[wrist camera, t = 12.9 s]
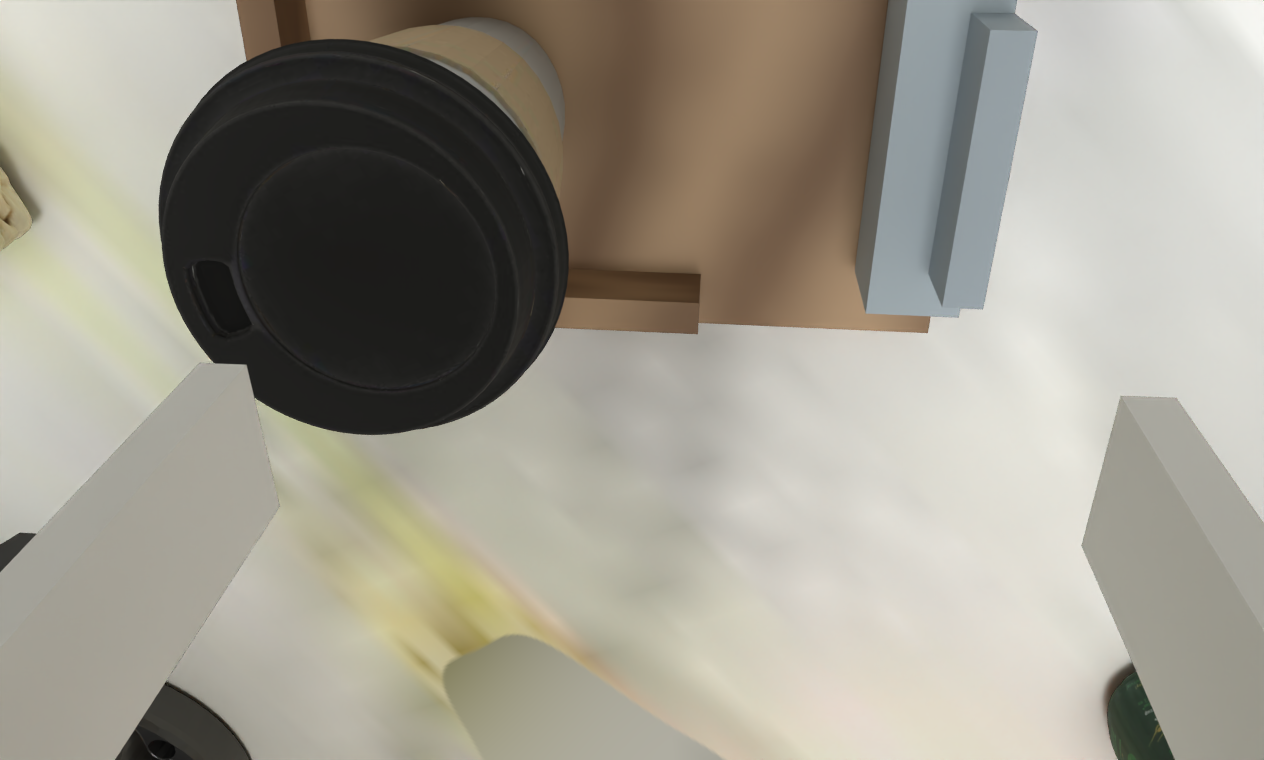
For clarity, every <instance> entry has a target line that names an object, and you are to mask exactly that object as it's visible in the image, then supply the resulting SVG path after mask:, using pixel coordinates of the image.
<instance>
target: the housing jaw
mask: <svg viewBox="0 0 1264 760" xmlns="http://www.w3.org/2000/svg"><path fill="white" fill-rule="evenodd" d="M1016 4H1017V0H888V8H887V16H886V24H885V32H884V40H883V48H882V56H881V64H880V72H879V80H878V88H877V96H876V104H875V112H874V120H873V128H872V136H871V144H870V152H869V160H868V168H867V176H866V184H865V192H864V200H863V208H862V216H861V224H860V232H859V240H858V248H857V256H856V264H855V274H856V278H857V282H858V286H859V290H860V293H861V297H862V301H863V305H864V309H865V313H866V314H888V315H911V316H935V317H958V318H959V313H960V308H965V309H983V307H984V302H985V297H986V292H987V287H988V282H989V277H990V271H991V266H992V261H993V256H994V251H995V246H996V241H997V236H998V231H999V226H1000V221H1001V216H1002V210H1003V205H1004V200H1005V195H1006V190H1007V185H1008V180H1009V175H1010V170H1011V165H1012V160H1013V155H1014V149H1015V144H1016V139H1017V134H1018V129H1019V124H1020V119H1021V114H1022V109H1023V104H1024V99H1025V94H1026V89H1027V83H1028V78H1029V73H1030V68H1031V63H1032V58H1033V53H1034V48H1035V43H1036V38H1037V33H1038V31H1037V30H1036V29H1034V28H1033V27H1032V26H1030V25H1029V24H1028V23H1026V22H1025V21H1024V20H1023V19H1021V18H1020V17H1019V16H1017V15H1016V14H1015V9H1016Z"/></svg>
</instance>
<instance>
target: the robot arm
mask: <svg viewBox="0 0 1264 760" xmlns="http://www.w3.org/2000/svg"><path fill="white" fill-rule="evenodd" d="M279 507H280V504H279V500H278V496H277V492H276V487H275V483H274V479H273V475H272V471H271V466H270V462H269V458H268V454H267V449H266V445H265V441H264V437H263V433H262V428H261V424H260V420H259V416H258V411H257V407H256V403H255V399H254V395H253V390H252V386H251V382H250V378H249V373H248V369H247V365H242V364H214V363H199V364H198V365H197V366H196V367H195V368H194V369H193V370H192V371H191V373H190V374H189V375H188V376H187V377H186V378H185V379H184V380H183V381H182V382H181V383H180V384H179V385H178V386H177V387H176V388H175V389H174V390H173V391H172V392H171V394H170V395H169V396H168V397H167V398H166V399H165V400H164V401H163V402H162V403H161V404H160V405H159V406H158V407H157V408H156V409H155V410H154V411H153V412H152V413H151V415H150V416H149V417H148V418H147V419H146V420H145V421H144V422H143V423H142V424H141V425H140V426H139V427H138V428H137V429H136V430H135V431H134V432H133V433H132V434H131V436H130V437H129V438H128V439H127V440H126V441H125V442H124V443H123V444H122V445H121V446H120V447H119V448H118V449H117V450H116V451H115V452H114V453H113V454H112V455H111V457H110V458H109V459H108V460H107V461H106V462H105V463H104V464H103V465H102V466H101V467H100V468H99V469H98V470H97V471H96V472H95V473H94V474H93V475H92V477H91V478H90V479H89V480H88V481H87V482H86V483H85V484H84V485H83V486H82V487H81V488H80V489H79V490H78V491H77V492H76V493H75V494H74V495H73V496H72V498H71V499H70V500H69V501H68V502H67V503H66V504H65V505H64V506H63V507H62V508H61V509H60V510H59V511H58V512H57V513H56V514H55V515H54V516H53V517H52V519H51V520H50V521H49V522H48V523H47V524H46V525H45V526H44V527H43V528H42V529H41V530H40V531H39V532H38V533H37V534H33V533H19V534H17V535H15V536H14V537H12V538H11V539H9V540H7V541H6V542H4V543H2V544H1V545H0V760H249V758H248V756H247V754H246V753H245V751H244V749H243V748H242V746H241V745H240V743H239V742H238V741H237V739H236V738H235V737H234V736H233V735H232V733H231V732H230V731H229V730H228V729H227V728H226V727H225V726H224V725H223V724H222V723H221V722H220V721H219V720H218V719H217V718H216V717H214V716H213V715H212V714H211V713H210V712H208V711H207V710H206V709H204V708H203V707H202V706H200V705H199V704H197V703H196V702H194V701H193V700H191V699H190V698H188V697H187V696H185V695H183V694H182V693H180V692H178V691H176V690H174V689H172V688H170V687H168V686H166V685H164V684H165V682H166V681H167V679H168V678H169V676H170V674H171V673H172V671H173V670H174V668H175V667H176V665H177V664H178V662H179V661H180V659H181V658H182V656H183V654H184V653H185V651H186V650H187V648H188V647H189V645H190V644H191V642H192V641H193V639H194V638H195V636H196V635H197V633H198V631H199V630H200V628H201V627H202V625H203V624H204V622H205V621H206V619H207V618H208V616H209V615H210V613H211V611H212V610H213V608H214V607H215V605H216V604H217V602H218V601H219V599H220V598H221V596H222V595H223V593H224V592H225V590H226V588H227V587H228V585H229V584H230V582H231V581H232V579H233V578H234V576H235V575H236V573H237V572H238V570H239V568H240V567H241V565H242V564H243V562H244V561H245V559H246V558H247V556H248V555H249V553H250V552H251V550H252V549H253V547H254V545H255V544H256V542H257V541H258V539H259V538H260V536H261V535H262V533H263V532H264V530H265V529H266V527H267V525H268V524H269V522H270V521H271V519H272V518H273V516H274V515H275V513H276V512H277V510H278V509H279ZM1082 548H1083V550H1084V553H1085V555H1086V557H1087V559H1088V562H1089V564H1090V566H1091V569H1092V571H1093V573H1094V575H1095V578H1096V580H1097V582H1098V585H1099V587H1100V589H1101V591H1102V594H1103V596H1104V598H1105V601H1106V603H1107V605H1108V607H1109V610H1110V612H1111V614H1112V617H1113V619H1114V621H1115V624H1116V626H1117V628H1118V630H1119V633H1120V635H1121V637H1122V640H1123V642H1124V644H1125V646H1126V649H1127V651H1128V653H1129V656H1130V658H1131V660H1132V662H1133V665H1134V667H1135V669H1136V672H1137V674H1138V676H1139V678H1140V681H1141V683H1142V685H1143V688H1144V690H1145V692H1146V695H1147V697H1148V699H1149V701H1150V704H1151V706H1152V708H1153V711H1154V713H1155V715H1156V717H1157V720H1158V722H1159V724H1160V727H1161V729H1162V731H1163V733H1164V736H1165V738H1166V740H1167V743H1168V745H1169V747H1170V749H1171V752H1172V754H1173V756H1174V759H1175V760H1264V523H1263V521H1262V520H1261V519H1260V517H1259V516H1258V514H1257V513H1256V511H1255V510H1254V509H1253V507H1252V506H1251V504H1250V503H1249V501H1248V500H1247V498H1246V497H1245V496H1244V494H1243V493H1242V491H1241V490H1240V488H1239V487H1238V486H1237V484H1236V483H1235V481H1234V480H1233V478H1232V477H1231V476H1230V474H1229V473H1228V471H1227V470H1226V468H1225V467H1224V465H1223V464H1222V463H1221V461H1220V460H1219V458H1218V457H1217V455H1216V454H1215V453H1214V451H1213V450H1212V448H1211V447H1210V445H1209V444H1208V443H1207V441H1206V440H1205V438H1204V437H1203V435H1202V434H1201V432H1200V431H1199V430H1198V428H1197V427H1196V425H1195V424H1194V422H1193V421H1192V420H1191V418H1190V417H1189V415H1188V414H1187V412H1186V411H1185V409H1184V408H1183V407H1182V405H1181V404H1180V402H1179V401H1178V399H1177V398H1166V397H1138V396H1121V397H1120V401H1119V405H1118V409H1117V412H1116V416H1115V420H1114V424H1113V428H1112V431H1111V435H1110V439H1109V443H1108V447H1107V451H1106V454H1105V458H1104V462H1103V466H1102V470H1101V473H1100V477H1099V481H1098V485H1097V489H1096V493H1095V496H1094V500H1093V504H1092V508H1091V512H1090V515H1089V519H1088V523H1087V527H1086V531H1085V534H1084V538H1083V542H1082Z"/></svg>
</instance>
